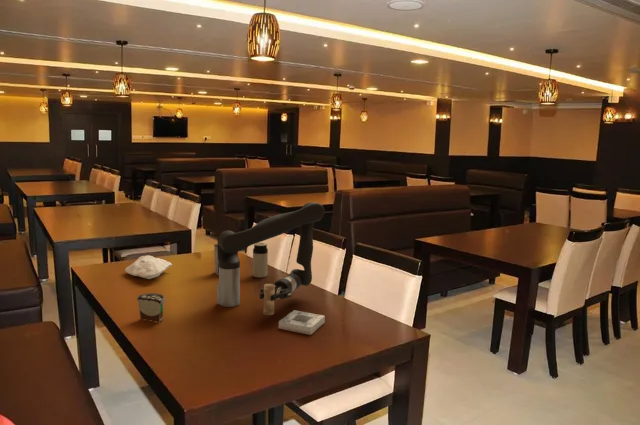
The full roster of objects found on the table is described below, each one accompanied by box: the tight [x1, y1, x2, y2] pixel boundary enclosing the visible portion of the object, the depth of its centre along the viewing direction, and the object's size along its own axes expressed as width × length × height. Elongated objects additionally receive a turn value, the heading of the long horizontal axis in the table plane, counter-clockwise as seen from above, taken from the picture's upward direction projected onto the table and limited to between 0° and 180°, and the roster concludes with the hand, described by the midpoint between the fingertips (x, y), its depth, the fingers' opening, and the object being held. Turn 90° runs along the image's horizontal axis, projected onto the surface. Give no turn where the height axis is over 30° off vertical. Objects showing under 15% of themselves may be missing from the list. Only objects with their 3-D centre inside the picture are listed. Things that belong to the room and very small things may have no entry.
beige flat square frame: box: [278, 309, 326, 336], centre depth 193 cm, size 14×14×3 cm
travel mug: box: [252, 241, 269, 278], centre depth 259 cm, size 8×8×18 cm
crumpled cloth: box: [124, 254, 173, 280], centre depth 255 cm, size 24×35×9 cm
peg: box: [263, 283, 275, 316], centre depth 198 cm, size 4×4×12 cm
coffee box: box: [213, 243, 219, 276], centre depth 263 cm, size 9×6×16 cm
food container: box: [136, 292, 166, 323], centre depth 195 cm, size 12×6×10 cm, turn 71°
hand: (266, 297), depth 195 cm, fingers closed on peg, 4 cm apart
